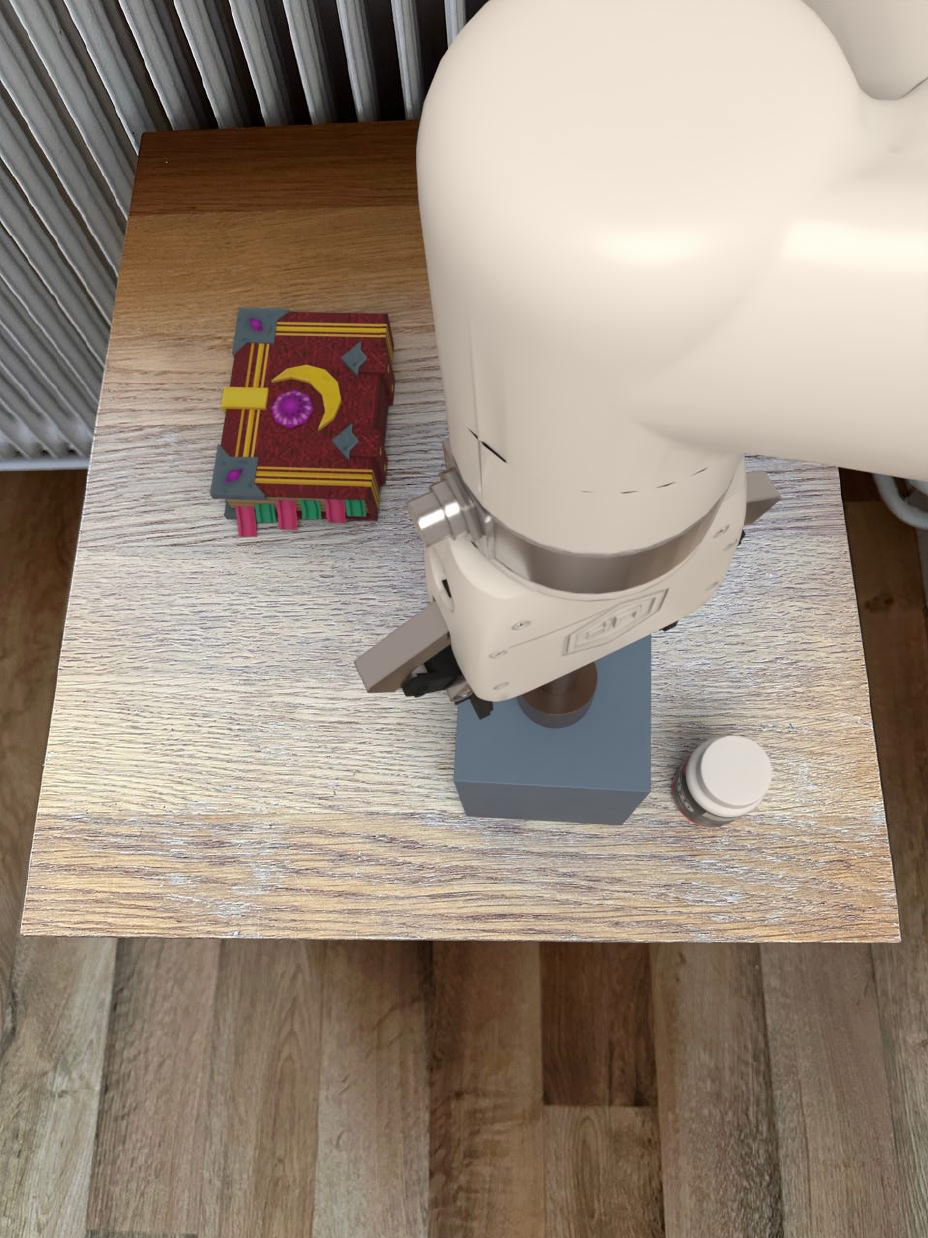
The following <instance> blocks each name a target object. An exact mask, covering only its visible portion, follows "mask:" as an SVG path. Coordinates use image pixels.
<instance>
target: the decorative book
mask: <svg viewBox="0 0 928 1238" xmlns="http://www.w3.org/2000/svg"><path fill="white" fill-rule="evenodd" d="M394 348H395V343H394V337H393V332H392V327H391V323H390V318H389V313H382V312H381V313H380V312H379V313H376V312H375V313H374V312H372V313H371V312H327V311H326V312H325V311H324V312H322V311H320V312H319V311H291V310H290V308H278V307H277V308H275V307H272V308H271V307H246V306H245V307H242V306H241V307H240V306H238V309H237V316H236V322H235V330H234V337H233V343H232V351H231V354H232V356H233V360H232V361H233V362H232V369H231V376H230V381H229V386H223V392H222V396H221V405H220V408H221V409H222V411H223V413H224V421H223V427H222V434H221V440H220V444H219V443H217V447H216V453H215V460H214V466H213V471H212V478H211V482H210V483H211V484H210V490H209V495H210V497H211V499H213V500H225V506H224V513H223V516H224V518H225V519H226V520H228V521H229V520H230V521H231V520H233V521H236V522H237V535H238V537H243V538H244V537H245V538H246V537H247V538H258V535H257V534H258V533H257V523H262V524H263V523H264V524H265V523H267V524H277V522H278V530H279V531H298V520H299V519H300V520H319V521H320V520H325V521H327V523H329V524H347V523H348V522H347V521H359V522H378V519H379V508H380V498H381V488H382V487H381V486H386V483H387V474H388V463H389V458H388V456H387V450H386V448H385V447H386V446H385V444H386V435H387V425H388V414H389V413H388V412H389V406H393V405H394V397H395V385H396V379H395V378H396V377H395V374H394V370H393V360H394V359H393V358H394ZM256 521H257V522H256Z"/></svg>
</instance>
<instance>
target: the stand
mask: <svg viewBox="0 0 928 1238" xmlns="http://www.w3.org/2000/svg"><path fill="white" fill-rule="evenodd" d="M594 662H595V665H596V668H597V674H598V680H597V686H596V690H595V693H594V697H593V700H592V703H591V706H590V708H589V710H588V711H587V713H586V714H585V715H584V716H583V717H582V719H580V720H579V721H578V722H576V723H575V724H573V725H570V726H568V727H564V728H547V727H543V726H540V725H538V724H536V723H534V722H533V721H532V720H530V719H529V718H528V717H527V716H526V715H525V714H524V712H523V711H522V709H521V707H520V705H519V703H518V700H517V696H516V697H514V698H511V699H507V700H504V701H499V702H493V711H491V712H490V715H489V716H487V717H485V718H483V719H481V720H479V718H478V716H477V714H476V712H475V710H474V708H473V706H472V704H471V702H470V700H469V699H468V700H466V701H464V702H462V703H460V704H458V705H457V716H456V717H457V718H456V719H457V720H456V732H455V744H454V745H455V748H454V749H455V750H454V761H453V775H452V776H453V777H452V778H453V779H452V781H453V783H454V786H455V789H456V791H457V794H458V797H459V799H460V803H461V804H462V809H463V810H464V813H465V816H466V817H467V818H468V817H470V818H485V819H486V818H487V819H505V820H521V821H537V822H555V823H557V822H558V823H571V824H591V825H605V826H607V825H608V826H623V825H624V823H625V822H626V821H627V820H628V819H629V818H630V816H632V814H633V813H634V812H635V811H637V809H638V808H639V806H640V805H641V804H642V802H643V801H645V799H646V798H647V797H648V796H649V795H650V793H651V791H652V634H650V635H647V636H645V637H643V638H641V639H639V640H637V641H635V642H633V643H631V644H629V645H627V646H625V647H623V648H621V649H619V650H616V651H614V652H612V653H610V654H608V655H606V656H604V657H602V658H600V659H598V660H596V661H594Z"/></svg>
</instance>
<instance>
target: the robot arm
mask: <svg viewBox="0 0 928 1238" xmlns="http://www.w3.org/2000/svg"><path fill="white" fill-rule="evenodd" d="M420 115H421V117H420V120H419V127H418V130H417V137H416V138H417V139H416V151H415V152H416V155H415V157H416V159H415V161H416V163H415V165H416V180H417V181H416V182H417V199H418V208H419V214H420V215H419V216H420V225H421V233H422V239H423V247H424V255H425V263H426V271H427V278H428V286H429V295H430V302H431V310H432V315H433V316H432V317H433V323H434V333H435V341H436V347H437V355H438V363H439V370H440V377H441V384H442V390H443V396H444V405H445V416H446V424H447V430H448V438H446V439H443V440H442V441H441V445H442V452H443V460H444V466H445V470H443V471H441V472H438V473H437V474H438V478H439V479H438V481H437V482H434V483H433V484H430V485H429V486H428V488H429V489H428V492H426V493H423V494H421V495H419V496H417V497H415V498H413V499H410V500H407V501H406V502H405V506H406V509H407V511H408V514H409V516H410V519H411V522H412V524H413V526H414V528H415V531H416V533H417V535H418V536H419V539H420V540H421V542H422V544H423V545H424V574H425V587H426V593H427V597H428V600H429V603H430V604H428V605H427V606H425V607H424V608H422V610H420V611H419V612H417V613H416V614H414V615H413V616H411V618H409V619H408V620H406V621H405V622H404V623H403V624H401V625H400V626H399V627H397V628H396V629H394V630H393V631H391V632H390V633H389V634H388V635H387V636H385V637H383V638H382V639H381V640H380V641H379V642H377V643H376V644H374V645H373V646H371V647H370V648H369V649H367V650H366V651H365V652H363V653H362V654H360V655H359V656H357V658H356V659H355V660H354V661H353V664H354V666H355V668H356V671H357V673H358V675H359V677H360V679H361V681H362V684H363V686H364V688H365V690H366V692H367V694H384V693H385V694H386V693H387V694H388V693H389V694H390V693H395V692H397V691H399V690H402V692H403V694H404V696H405V697H406V698H409V697H414V698H415V699H416V698H420V697H423V696H425V695H426V694H432V693H438V692H443V691H444V692H445V693H446V696H447V698H448V700H449V702H451V703H454V705H455V706H458V704H460V703H462V702H464V701H466V700H468V699H469V700H470V702H471V704H472V706H473V708H474V710H475V712H476V714H477V716H478V718H479V720H481V719H483V718H485V717H487V716H489V715H490V712H491V711H493V702H499V701H504V700H507V699H511V698H514V697H516V696H519V695H521V694H524V693H526V692H529V691H531V690H533V689H535V688H538V687H540V686H542V685H544V684H546V683H549V682H551V681H553V680H555V679H557V678H559V677H561V676H564V675H566V674H568V673H570V672H572V671H574V670H576V669H579V668H581V667H583V666H585V665H587V664H589V663H591V662H593V661H596V660H598V659H600V658H602V657H604V656H606V655H608V654H610V653H612V652H614V651H616V650H619V649H621V648H623V647H625V646H627V645H629V644H631V643H633V642H635V641H637V640H639V639H641V638H643V637H645V636H647V635H650V634H651V635H652V634H653V633H656V632H658V631H659V632H661V631H663V632H668V631H669V630H671V629H673V628H676V626H677V625H678V623H679V621H680V620H682V619H684V618H685V617H687V616H689V615H691V614H692V613H694V612H696V611H697V610H699V609H700V608H702V607H703V606H705V605H706V604H708V602H709V601H711V599H712V598H713V597H714V595H715V594H716V592H717V591H718V589H719V588H720V586H721V584H722V582H723V580H724V579H725V578H726V575H727V573H728V570H729V568H730V567H731V564H732V563H733V559H734V557H735V554H736V552H737V549H738V547H740V546H741V545H742V543H743V542H742V541H743V539H744V538H745V537H746V536H747V534H746V532H745V530H744V527H746V526H751V525H753V524H754V523H756V521H758V520H759V519H760V518H761V517H762V516H763V515H765V513H767V512H768V511H769V510H770V509H772V508H773V507H774V506H775V505H776V504H777V503H778V502H780V500H782V495H781V494H780V492H779V491H778V489H777V488H776V486H775V485H774V483H773V481H772V480H771V478H770V477H769V475H768V474H767V472H766V471H765V470H764V469H760V470H754V471H748V472H747V463H746V457H745V455H746V454H747V455H756V456H762V457H769V458H779V459H783V460H784V459H786V460H791V461H800V462H808V463H812V464H813V463H814V464H820V465H826V466H832V467H837V468H842V469H848V470H853V471H854V470H855V471H860V472H866V473H871V474H878V475H884V476H888V477H889V476H890V477H895V478H901V479H907V480H912V481H918V482H919V481H920V482H925V483H928V0H488V1H487V2H486V3H484V4H483V6H482V7H481V8H480V9H479V10H478V11H477V12H476V13H475V14H474V16H473V17H472V18H471V19H469V20H468V22H467V23H466V24H465V25H464V26H463V28H462V29H461V30H460V31H459V32H458V33H457V34H456V36H455V38H454V40H453V41H452V42H451V44H450V46H449V47H448V49H447V50H446V52H445V54H444V55H443V56H442V58H441V59H440V61H439V64H438V67H437V69H436V72H435V74H434V77H433V79H432V81H431V84H430V86H429V89H428V91H427V94H426V96H425V99H424V101H423V105H422V111H421V114H420Z"/></svg>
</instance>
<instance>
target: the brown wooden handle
mask: <svg viewBox="0 0 928 1238" xmlns="http://www.w3.org/2000/svg"><path fill="white" fill-rule="evenodd" d="M597 680H598V674H597V668H596V665H595V662H594V661H593V662H591V663H589V664H587V665H585V666H583V667H581V668H579V669H576V670H574V671H572V672H570V673H568V674H566V675H564V676H561V677H559V678H557V679H555V680H553V681H551V682H549V683H546V684H544V685H542V686H540V687H538V688H535V689H533V690H531V691H529V692H526V693H524V694H521V695H519V696H517V700H518V703H519V705H520V707H521V709H522V711H523V712H524V714H525V715H526V716H527V717H528V718H529V719H530V720H532V721H533V722H534V723H536V724H538V725H540V726H543V727H547V728H564V727H568V726H570V725H573V724H575V723H576V722H578V721H579V720H580V719H582V717H583V716H584V715H585V714H586V713H587V711H588V710H589V708H590V706H591V703H592V700H593V697H594V693H595V690H596V686H597Z"/></svg>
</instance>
